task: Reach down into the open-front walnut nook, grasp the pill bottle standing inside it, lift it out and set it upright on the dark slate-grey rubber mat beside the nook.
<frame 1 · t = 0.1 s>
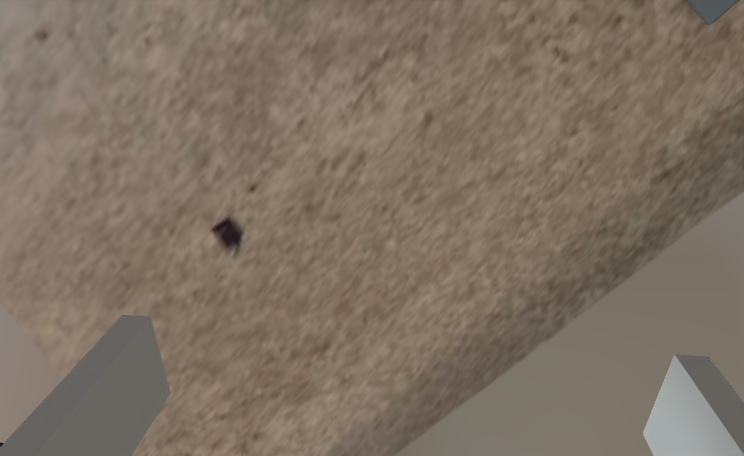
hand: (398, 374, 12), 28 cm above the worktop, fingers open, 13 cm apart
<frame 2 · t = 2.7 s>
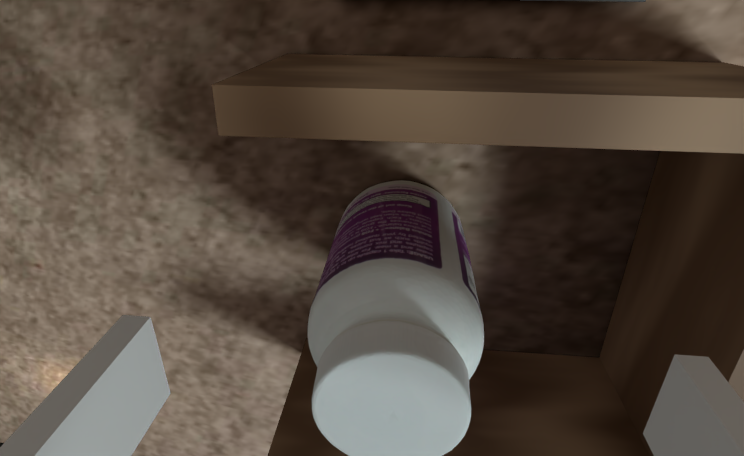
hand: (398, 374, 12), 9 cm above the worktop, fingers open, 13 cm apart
pill bottle: (401, 233, 20), on the worktop
nook: (461, 237, 20), on the worktop
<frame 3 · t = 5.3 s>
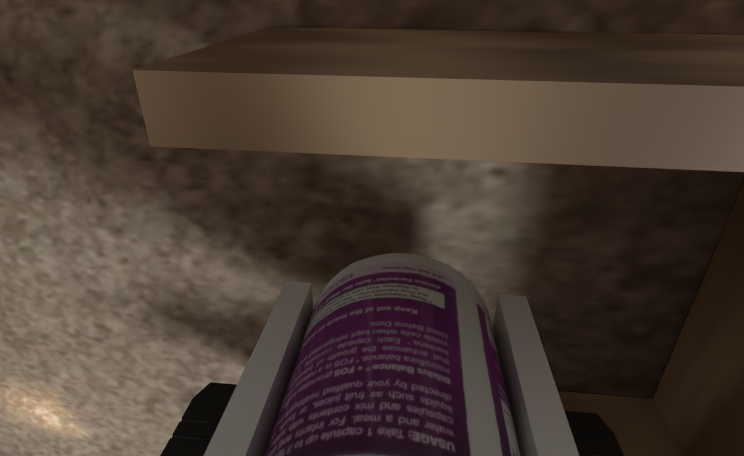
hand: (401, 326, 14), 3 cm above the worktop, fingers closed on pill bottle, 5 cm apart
pill bottle: (402, 319, 14), point 3 cm above the worktop, touching gripper
nook: (490, 257, 16), on the worktop
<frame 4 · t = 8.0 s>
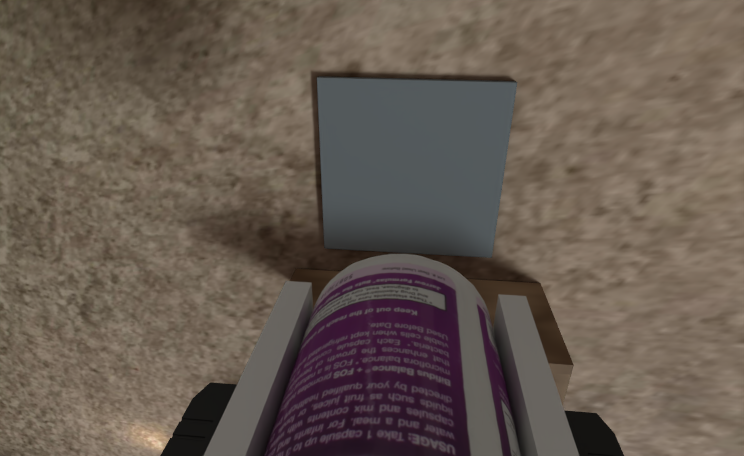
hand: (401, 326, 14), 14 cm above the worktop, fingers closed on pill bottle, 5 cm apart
pill bottle: (402, 319, 14), point 13 cm above the worktop, touching gripper
nook: (401, 362, 32), on the worktop
mat: (410, 171, 26), on the worktop
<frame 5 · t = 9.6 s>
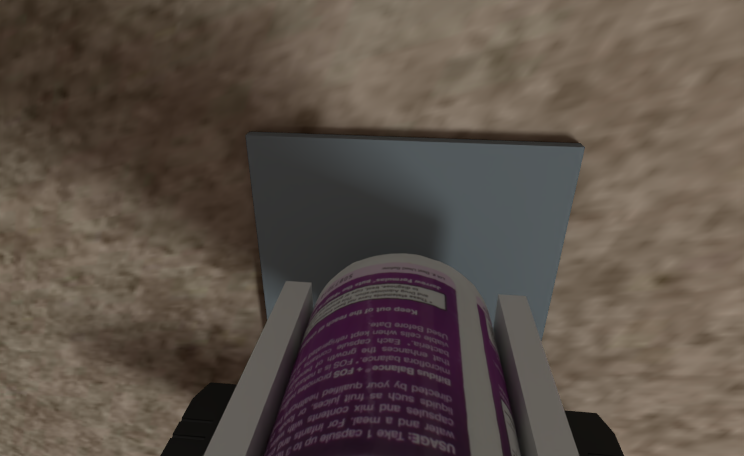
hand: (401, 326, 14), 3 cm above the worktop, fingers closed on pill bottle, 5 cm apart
pill bottle: (402, 319, 14), point 2 cm above the worktop, touching gripper
mat: (403, 276, 16), on the worktop
when the fingers open (1 cm above the worktop, at t = 10.7 s): pill bottle stays where it is, resting on mat.
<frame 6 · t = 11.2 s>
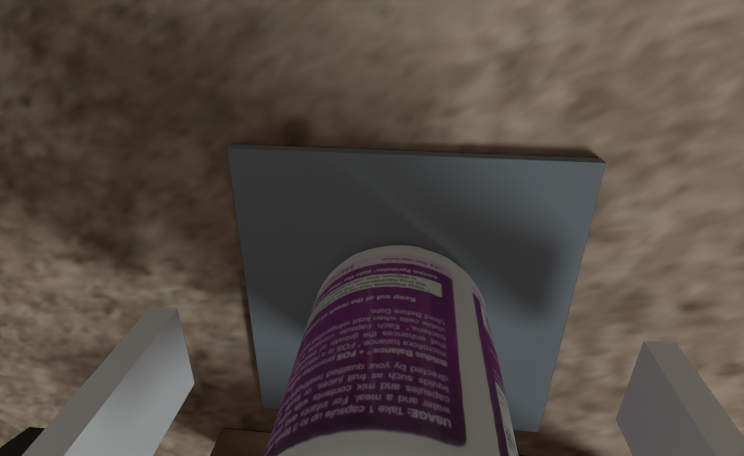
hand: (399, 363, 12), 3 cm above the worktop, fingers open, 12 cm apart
pill bottle: (401, 309, 15), resting on mat
mat: (403, 300, 15), on the worktop
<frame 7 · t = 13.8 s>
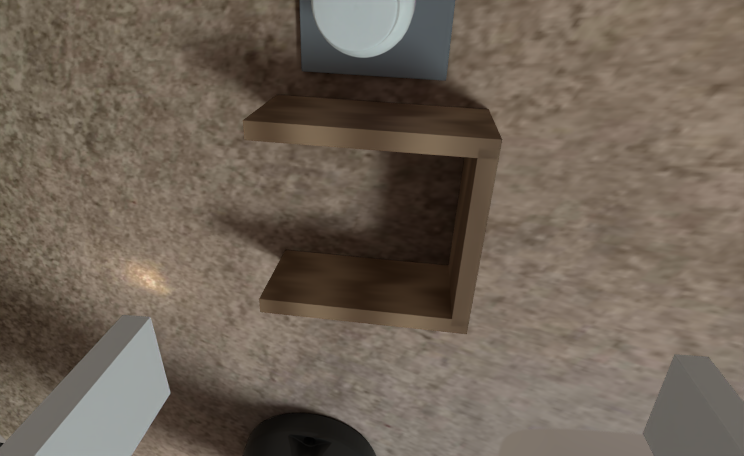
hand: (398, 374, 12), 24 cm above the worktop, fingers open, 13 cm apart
nook: (368, 193, 37), on the worktop
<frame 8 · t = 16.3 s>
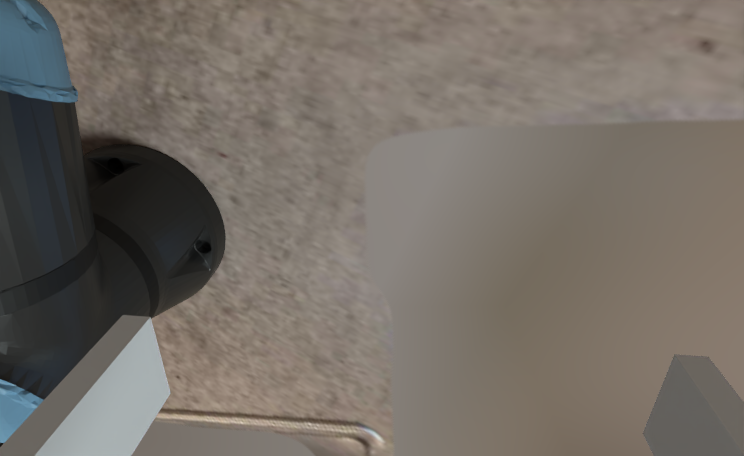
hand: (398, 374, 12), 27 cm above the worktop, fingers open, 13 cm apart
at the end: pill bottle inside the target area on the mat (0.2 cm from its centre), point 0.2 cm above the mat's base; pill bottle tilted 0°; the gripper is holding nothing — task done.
